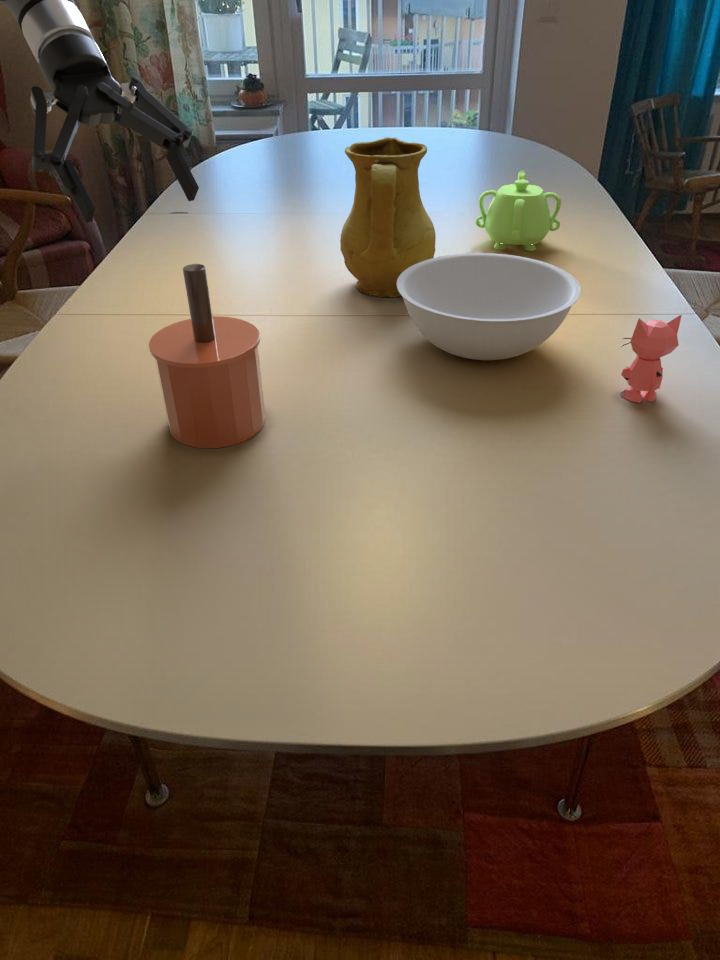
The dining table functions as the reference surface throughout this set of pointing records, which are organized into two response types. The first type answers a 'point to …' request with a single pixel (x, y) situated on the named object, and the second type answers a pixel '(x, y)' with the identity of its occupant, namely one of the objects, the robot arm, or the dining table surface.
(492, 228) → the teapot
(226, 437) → the jar
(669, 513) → the dining table surface
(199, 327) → the lid
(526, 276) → the bowl
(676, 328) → the cat figurine
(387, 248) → the pitcher
